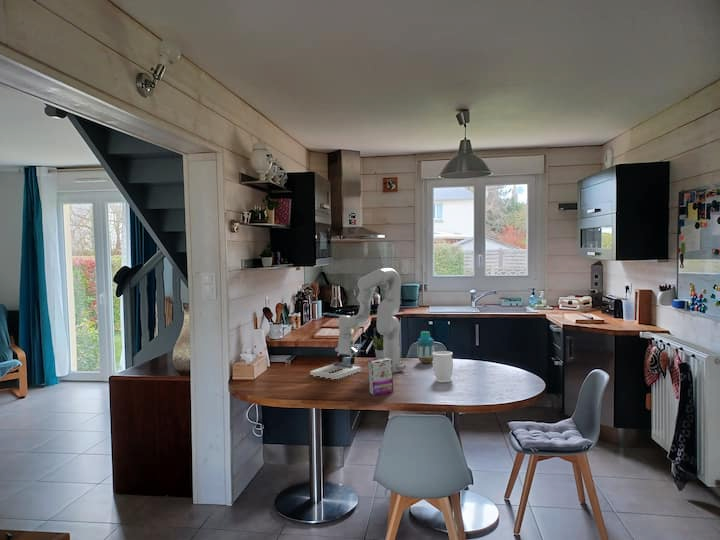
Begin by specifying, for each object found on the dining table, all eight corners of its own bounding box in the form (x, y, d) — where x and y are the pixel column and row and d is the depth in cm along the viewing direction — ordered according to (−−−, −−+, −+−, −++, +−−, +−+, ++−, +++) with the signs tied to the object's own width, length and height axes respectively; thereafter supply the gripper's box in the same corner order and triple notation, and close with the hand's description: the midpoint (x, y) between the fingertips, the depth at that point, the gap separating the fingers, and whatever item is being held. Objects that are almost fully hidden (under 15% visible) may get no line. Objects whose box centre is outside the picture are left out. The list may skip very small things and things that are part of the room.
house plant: (365, 361, 317) (363, 335, 317) (370, 356, 330) (369, 332, 330) (386, 361, 313) (385, 336, 312) (391, 356, 326) (390, 332, 326)
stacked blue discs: (352, 366, 305) (352, 357, 305) (347, 368, 301) (347, 359, 301) (346, 365, 308) (346, 356, 308) (341, 367, 304) (340, 358, 304)
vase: (416, 361, 310) (414, 331, 309) (432, 360, 311) (431, 330, 310) (420, 365, 299) (418, 333, 298) (437, 364, 300) (435, 332, 300)
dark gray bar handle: (352, 367, 290) (352, 365, 290) (350, 368, 289) (350, 365, 289) (335, 365, 299) (335, 362, 299) (333, 365, 298) (333, 363, 298)
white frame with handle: (361, 371, 291) (360, 367, 291) (336, 379, 274) (336, 375, 274) (335, 367, 304) (335, 363, 304) (310, 375, 287) (310, 371, 287)
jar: (431, 382, 260) (430, 354, 259) (435, 377, 269) (434, 350, 269) (451, 383, 256) (450, 355, 256) (455, 378, 266) (454, 351, 265)
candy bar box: (389, 389, 251) (387, 357, 250) (393, 392, 246) (392, 359, 246) (369, 393, 246) (367, 360, 246) (373, 395, 242) (371, 362, 241)
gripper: (360, 335, 301) (361, 363, 302) (338, 333, 312) (339, 360, 313) (352, 337, 296) (353, 366, 296) (330, 335, 306) (331, 362, 307)
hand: (346, 363), depth 305 cm, fingers open, 9 cm apart
